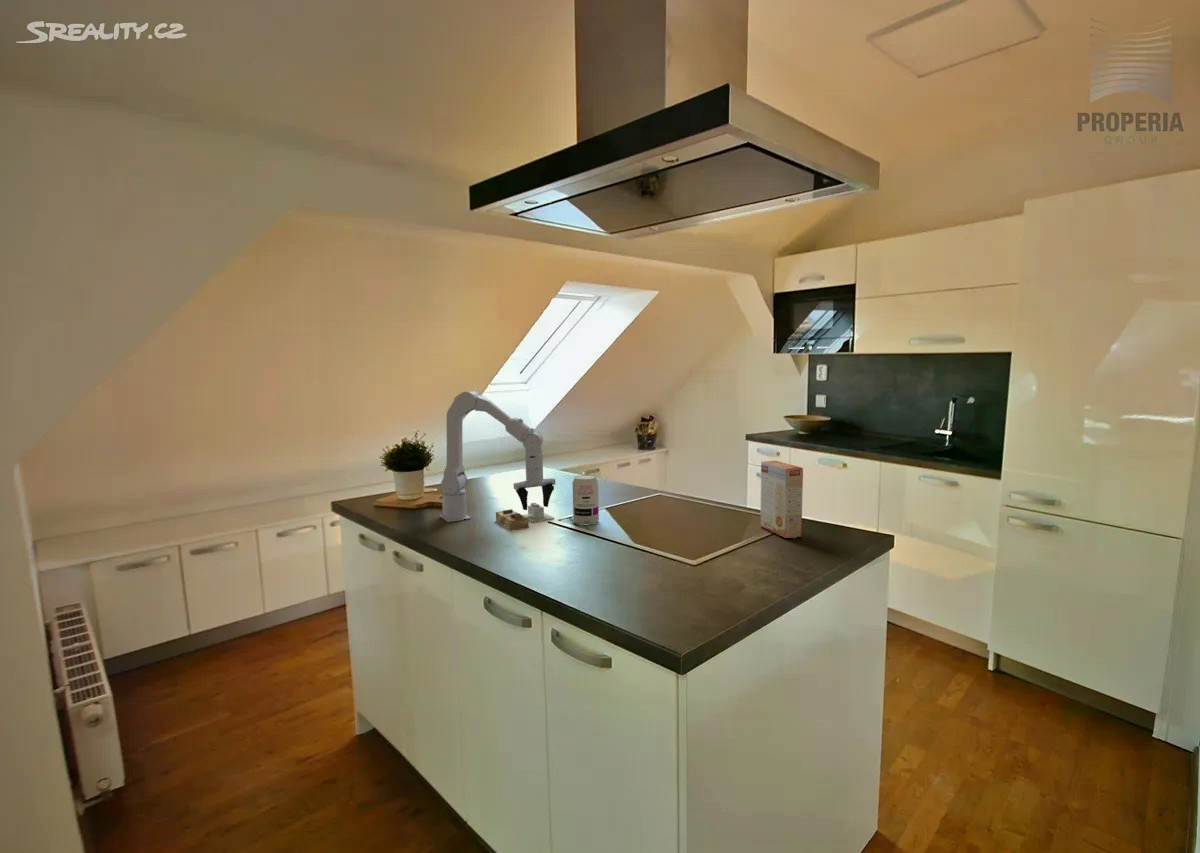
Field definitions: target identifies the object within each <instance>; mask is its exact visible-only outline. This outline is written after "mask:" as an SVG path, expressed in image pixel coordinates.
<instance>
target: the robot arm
mask: <svg viewBox="0 0 1200 853" xmlns="http://www.w3.org/2000/svg"><path fill="white" fill-rule="evenodd" d="M472 411H474V412H483V413H484V412H485V413H486V414H488V415H490V416H491V417H492V418H494V419H495V420H496V421H498V422H500V423H501V424H502V425H503V426H505V432H507V433H508V434H510V435H511V436H512V437H513V438H514V439H516V440H518V442H520V443H522V445H523V448H524V449H525V455H524V456H525V480H523V481H519V482H514V483H513V490H515V492H516V493H517V495H518V497H519V499H520V502H521V507H522V510H524V511H528V496H529V491H528V490H527V489H529V488H536V487H541V491H542V502H543V507H545V508H549V503H550V499H551V496H552V493H553V491H554V489H555V486H556V478H554V477H553V478H544V459H543V458H544V457H543V447H542V445H543V444H544V437H543V435H542V433H540V431H536V430H535V428H534V427H530V426H528V425H527V424H526V423H524V419H522V418H519V417H511V416H510V415H509V414H507V413H506V412H505V411H503V410H502V409H501V408H500V407H499V406H497V405H496V404H495V403H494V402H493V401H492V400H491V399H489V398H488V397H487V396H485V395H483V394H482V393H480V392H479V391H477V390H469V391H463V392H461V393H459V394H457V396H455V397H454V399H453V401H452V403H451V405H450V406H449V408H448V409H447V411H446V466H445V468H444V471H443V477H442V479H441V481H440V482H441V483H440V488H441V489H442V490H441V491H442V492H443V495H442V497H441V498H442V499H441V502H442V505H441V506H442V514H440V515H439V516H440V517H441V519H443V520H444V521H446V522H447V523H453V522H458V521H465V520H464V519H466V520H471V518H472V517H471V516H469V515H468V514H467V494H466V488H465V486H466V485H467V484H468V476H467V475H466V472H465V467H464V465H463V418H465V417H466V416H467V415H468V414H469V413H470V412H472Z"/></svg>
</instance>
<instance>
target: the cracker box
mask: <svg viewBox="0 0 1200 853" xmlns="http://www.w3.org/2000/svg"><path fill="white" fill-rule="evenodd" d="M760 463H761V466H760V467H761V468H760V519H759V520H760V522H759V524H760V526H761V527H763V528H765V529H768V530H770V531H772V532H774V533H776V534H778V535H780V536H782V537H784V538H789V537H796V536H801V537H802V532H803V527H802V526H803V524H802V523H803V488H804V487H803V485H804V483H803V482H804V481H803V480H804V467H801V466H798V465H794V464H790V463H786V462H783V461H779V460H768V461H761V462H760ZM760 526H759V527H760ZM761 527H760V528H761ZM763 528H762V529H763ZM765 529H764V530H765Z"/></svg>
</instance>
